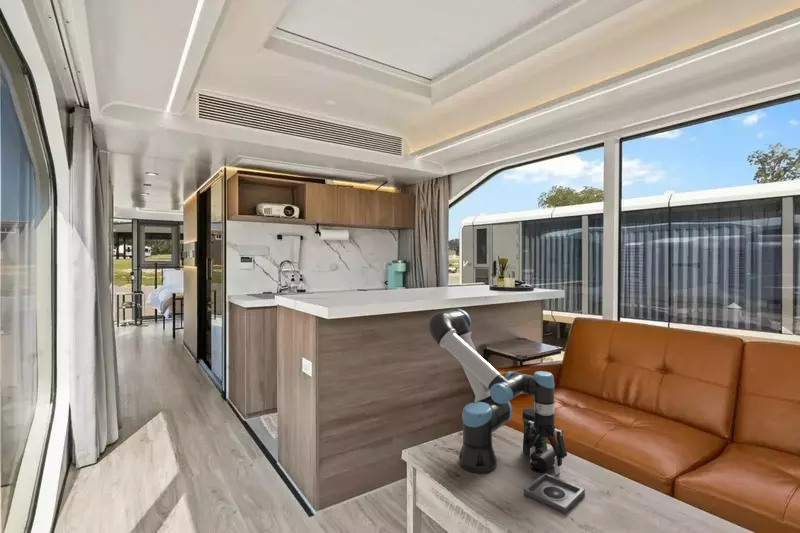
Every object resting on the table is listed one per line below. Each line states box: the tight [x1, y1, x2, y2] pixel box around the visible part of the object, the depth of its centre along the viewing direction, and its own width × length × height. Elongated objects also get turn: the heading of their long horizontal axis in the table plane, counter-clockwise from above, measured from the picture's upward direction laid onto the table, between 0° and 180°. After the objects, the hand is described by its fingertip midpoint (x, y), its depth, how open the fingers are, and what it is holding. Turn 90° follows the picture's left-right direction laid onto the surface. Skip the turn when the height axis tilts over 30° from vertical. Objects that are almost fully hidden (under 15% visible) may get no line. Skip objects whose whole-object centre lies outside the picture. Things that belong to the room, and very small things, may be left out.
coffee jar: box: [521, 407, 548, 455], centre depth 176 cm, size 10×8×19 cm
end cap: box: [529, 447, 556, 475], centre depth 164 cm, size 10×7×7 cm
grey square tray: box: [523, 472, 586, 515], centre depth 146 cm, size 15×15×2 cm
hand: (544, 468), depth 164 cm, fingers open, 10 cm apart
